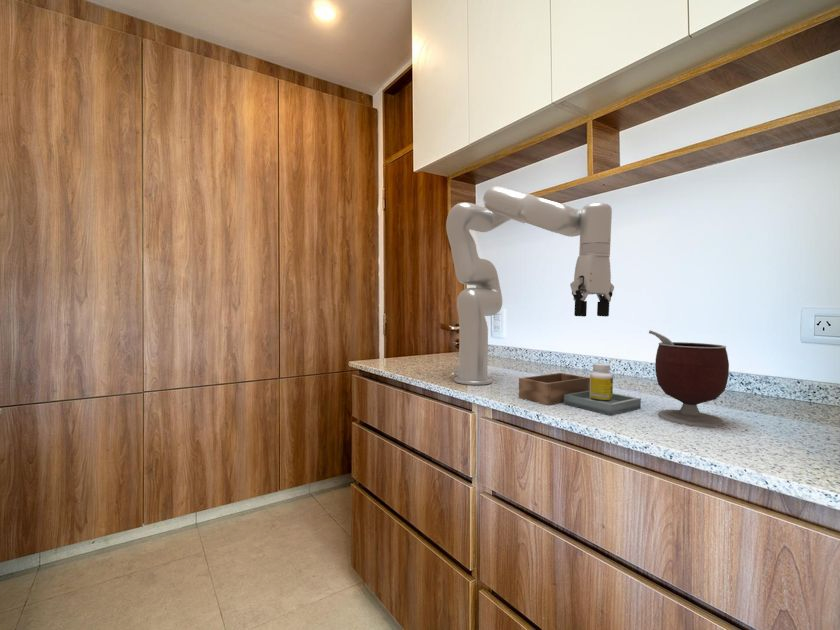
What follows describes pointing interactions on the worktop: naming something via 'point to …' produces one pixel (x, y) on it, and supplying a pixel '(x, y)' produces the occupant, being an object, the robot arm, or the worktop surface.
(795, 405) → the worktop surface
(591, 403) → the tray
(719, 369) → the mate gourd
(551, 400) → the holder
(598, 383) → the supplement bottle
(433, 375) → the worktop surface
